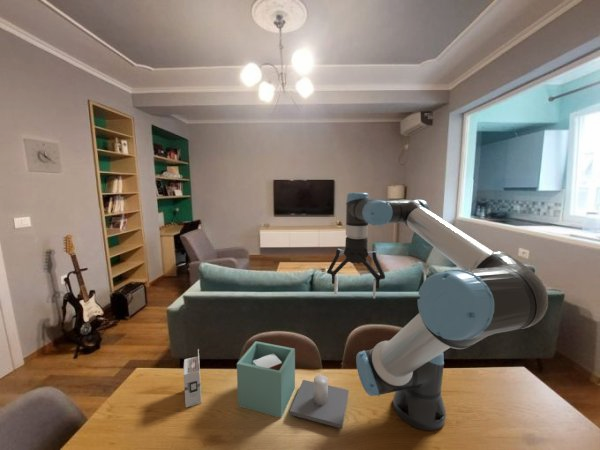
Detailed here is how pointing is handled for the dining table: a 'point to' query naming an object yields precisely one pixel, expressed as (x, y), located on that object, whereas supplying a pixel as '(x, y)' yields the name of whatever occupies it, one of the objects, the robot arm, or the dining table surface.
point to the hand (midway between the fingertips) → (354, 294)
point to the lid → (320, 402)
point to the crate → (266, 380)
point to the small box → (269, 362)
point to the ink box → (192, 381)
